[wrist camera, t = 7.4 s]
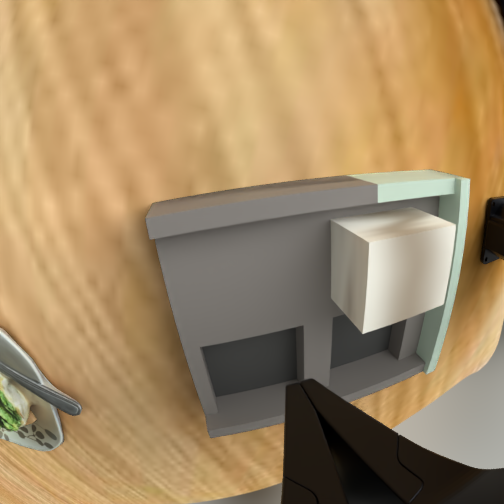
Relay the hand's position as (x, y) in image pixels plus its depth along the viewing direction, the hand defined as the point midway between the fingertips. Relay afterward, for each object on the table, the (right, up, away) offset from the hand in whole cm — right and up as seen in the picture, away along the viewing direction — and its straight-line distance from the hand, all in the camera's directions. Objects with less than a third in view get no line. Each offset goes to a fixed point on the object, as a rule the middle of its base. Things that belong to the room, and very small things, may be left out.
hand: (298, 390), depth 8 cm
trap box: (+3, +1, +12) cm, 13 cm away
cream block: (+6, +4, +9) cm, 12 cm away
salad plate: (-26, -7, +9) cm, 29 cm away
